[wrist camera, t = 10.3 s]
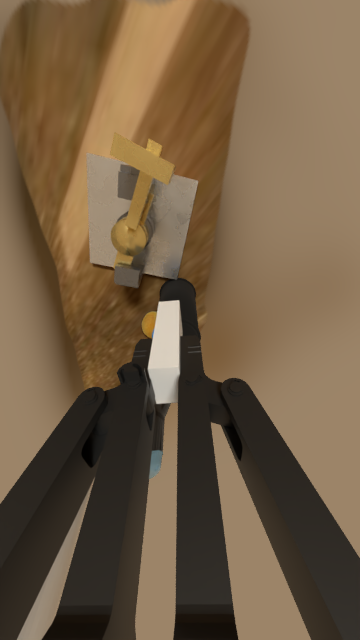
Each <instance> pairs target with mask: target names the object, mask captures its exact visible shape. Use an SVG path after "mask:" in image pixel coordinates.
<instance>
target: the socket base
mask: <svg viewBox="0 0 360 640" xmlns="http://www.w3.org/2000/svg"><path fill="white" fill-rule="evenodd" d="M139 173H140V170H138V169H136V168H134V167H132V166H130V165H129V164H127V163H125V162H122V161H118V160H114V159H110V158H106V157H103V156H99V155H95V154H91V153H87V182H88V213H89V244H90V263H95V264H100V265H105V266H110V267H113V266H114V262H115V259H116V255H117V252H118V251H117V250H116V249H115V247H114V246H113V244H112V241H111V230H112V228H113V226H114V225H115V224H116V223H117V222H118V221H120V220H121V219H122V218H124V217H125V216H127V215H128V212H129V208H130V205H131V201H132V198H133V194H134V191H135V187H136V183H137V180H138V176H139ZM197 185H198V181H197V180H193V179H189V178H185V177H181V176H177V175H173V177H172V180H171V183H169V184H168V185H166V184H165V183H163V182H161V181H159V180H157V179H155V178H153V181H152V185H151V188H150V191H149V192H150V193H152V194H154V197H153V200H152V203H151V206H150V209H149V212H148V215H147V219H146V222H145V223H146V225H147V227H148V230H149V238H148V241H147V243H146V245H145V247H144V249H143V251H142V252H141V253H139V254H138V255H135V256H134V258H133V261H132V264H131V267H130V266H125V265H120V264H116V265H115V279H114V282H115V283H116V284H118V285H123V286H128V287H134V288H138V287H139V285H140V282H141V279H142V277H143V274H144V273H145V274H150V275H155V276H160V277H165V278H170V279H175V280H177V277H178V272H179V268H180V263H181V258H182V254H183V249H184V245H185V240H186V235H187V231H188V226H189V222H190V217H191V212H192V208H193V203H194V199H195V194H196V189H197ZM147 202H148V197H147V200H146V204H147Z"/></svg>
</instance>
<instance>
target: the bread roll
mask: <svg viewBox="0 0 360 640" xmlns="http://www.w3.org/2000/svg"><path fill="white" fill-rule="evenodd" d="M156 317H157V312H149V313H148V314H147V315H146V316H145V317H144V318H143V321H142V330H143V332H144V334H145V335H146V336H147V337H149V338H151V339H152V332H153V330H154V328H155V323H156Z"/></svg>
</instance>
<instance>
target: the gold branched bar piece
mask: <svg viewBox="0 0 360 640" xmlns="http://www.w3.org/2000/svg"><path fill="white" fill-rule="evenodd" d="M162 150H163V146H161V145H159V144H158V143H156V142H154V141H152V140H151V139H149V141H148V144H147V148H146V149H144V148H142V147H141V146H139V145H137V144H135V143H133V142H132V141H130V140H128V139H126V138H124V137H123V136H121V135H119V134H117V133H114V138H113V143H112V148H111V152H110V155H111V156H113V157H115V158H117V159H119V160H121V161H123V162H125V163H127V164H129V165H130V166H132V167H134V168H136V169H138V170H140V173H139V176H138V180H137V183H136V187H135V191H134V194H133V198H132V201H131V205H130V208H129V212H128V215H127V216H125V217H124V218H122V219H121V220H120V221H118V222H117V223H116V224H115V225H114V226H113V228H112V230H111V241H112V244H113V246H114V247H115V249H116V250H117V251H118V252H117V255H116V259H115V262H114V266H113V268H114V269H115V265H116V264H120V265H125V266H130V267H131V264H132V261H133V258H134V256H135V255H138V254H139V253H141V252H142V251H143V249H144V247H145V245H146V243H147V241H148V238H149V230H148V227H147V225H146V223H145V222H146V219H147V215H148V212H149V209H150V206H151V203H152V200H153V197H154V194H152V193H150V192H149V191H150V188H151V185H152V181H153V178H155V179H157V180H159V181H161V182H163V183H165V184H166V185H168V184H169V183H171V180H172V177H173V174H174V172H175V169H176V166H175V165H173V164H171V163H169V162H168V161H166V160H164V159H162V158H160V156H161V153H162ZM147 197H148V202H147V204H146V200H147Z"/></svg>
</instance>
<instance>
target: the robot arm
mask: <svg viewBox="0 0 360 640" xmlns="http://www.w3.org/2000/svg"><path fill="white" fill-rule="evenodd" d="M117 374H118V377H119V380H120V383H121V385H119V386H118V387H115V388H113V389H110V390H107V391H104V390H103V389H102V388H99V387H92V388H89V389H87V390H85V391H84V392H82V393H81V394H80V395H79V396H78V398H77V399H76V401H75V402H74V403H73V405H72V406H71V407H70V409H69V410H68V412H67V413H66V414H65V416H64V417H63V419H62V420H61V421H60V423H59V424H58V426H57V427H56V428H55V430H54V431H53V432H52V434H51V435H50V437H49V438H48V439H47V441H46V442H45V443H44V445H43V446H42V447H41V449H40V450H39V452H38V453H37V454H36V456H35V457H34V459H33V460H32V461H31V463H30V464H29V465H28V467H27V468H26V470H25V471H24V472H23V474H22V475H21V476H20V478H19V479H18V480H17V482H16V483H15V485H14V486H13V487H12V489H11V490H10V491H9V493H8V494H7V496H6V497H5V498H4V500H3V501H2V503H1V504H0V640H136V633H135V614H136V603H137V594H138V584H139V574H140V564H141V554H142V543H143V534H144V523H145V514H146V503H147V494H148V484H149V479H151V478H153V477H154V476H155V475H157V474H158V472H159V471H160V468H161V459H162V455H163V435H164V420H165V416H166V414H167V411H168V409H169V406H170V404H171V403H178V450H177V451H178V453H177V454H178V455H177V539H176V543H177V544H176V615H175V628H174V638H173V640H238V635H237V630H236V624H235V617H234V610H233V602H232V594H231V587H230V578H229V570H228V561H227V553H226V544H225V537H224V528H223V520H222V513H221V504H220V496H219V487H218V479H217V471H216V463H215V454H214V446H213V438H212V430H211V422H212V423H216V424H220V425H221V426H222V429H223V431H224V434H225V436H226V438H227V441H228V443H229V446H230V448H231V450H232V453H233V455H234V457H235V460H236V462H237V464H238V467H239V469H240V472H241V474H242V476H243V479H244V481H245V484H246V486H247V488H248V490H249V493H250V495H251V498H252V500H253V503H254V505H255V507H256V510H257V512H258V514H259V517H260V519H261V522H262V524H263V526H264V528H265V531H266V533H267V536H268V538H269V540H270V543H271V545H272V548H273V550H274V552H275V555H276V557H277V559H278V562H279V564H280V567H281V569H282V571H283V574H284V576H285V578H286V581H287V583H288V585H289V588H290V590H291V593H292V595H293V597H294V600H295V602H296V605H297V607H298V609H299V612H300V614H301V616H302V619H303V621H304V623H305V626H306V628H307V631H308V633H309V635H310V637H311V640H360V558H359V556H358V555H357V553H356V552H355V550H354V549H353V547H352V545H351V544H350V542H349V541H348V539H347V538H346V536H345V535H344V533H343V532H342V530H341V528H340V527H339V525H338V524H337V522H336V520H335V519H334V517H333V516H332V514H331V513H330V511H329V510H328V508H327V507H326V505H325V503H324V502H323V500H322V499H321V497H320V496H319V494H318V492H317V491H316V489H315V488H314V486H313V485H312V483H311V482H310V480H309V479H308V477H307V475H306V474H305V472H304V471H303V469H302V468H301V466H300V464H299V463H298V461H297V460H296V458H295V457H294V455H293V454H292V452H291V450H290V449H289V447H288V446H287V444H286V443H285V441H284V440H283V438H282V437H281V435H280V433H279V432H278V430H277V429H276V427H275V426H274V424H273V422H272V421H271V419H270V418H269V416H268V415H267V413H266V412H265V410H264V408H263V407H262V405H261V404H260V402H259V401H258V399H257V398H256V396H255V395H254V393H253V391H252V390H251V388H250V387H249V385H248V384H247V383H246V382H245V381H243V380H241V379H237V378H230V379H227V380H225V381H224V382H223V383H221V382H216V381H214V380H211V379H210V378H208V377H207V376H206V375H205V373H204V370H203V362H202V353H201V345H200V340H199V338H198V337H197V336H196V335H189V336H182V321H181V312H180V302H179V300H176V301H164V302H159V305H158V311H157V317H156V323H155V329H154V334H153V339H141V340H140V341H139V342H138V343H137V344H136V347H135V351H134V354H133V358H132V362H130V363H127V364H125V365H123V366H122V367H121V368H119V370H118V372H117ZM93 482H94V483H93ZM92 484H93V486H92ZM91 488H92V490H91ZM90 492H91V493H90ZM89 495H90V497H89ZM88 499H89V500H88ZM87 502H88V504H87ZM86 506H87V508H86ZM85 509H86V511H85ZM84 513H85V515H84ZM83 517H84V518H83ZM82 520H83V522H82ZM81 524H82V525H81ZM80 527H81V529H80ZM79 531H80V532H79ZM78 534H79V536H78ZM77 538H78V540H77ZM76 541H77V543H76ZM75 545H76V547H75ZM74 548H75V550H74ZM73 552H74V554H73ZM72 555H73V557H72ZM71 559H72V561H71ZM70 563H71V565H70ZM69 566H70V568H69ZM68 570H69V572H68ZM67 573H68V575H67ZM66 577H67V579H66ZM65 580H66V582H65ZM64 584H65V586H64ZM63 587H64V589H63ZM62 591H63V593H62ZM61 594H62V597H61ZM60 598H61V600H60ZM59 602H60V604H59ZM58 605H59V607H58ZM57 609H58V610H57ZM56 612H57V613H56Z"/></svg>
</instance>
